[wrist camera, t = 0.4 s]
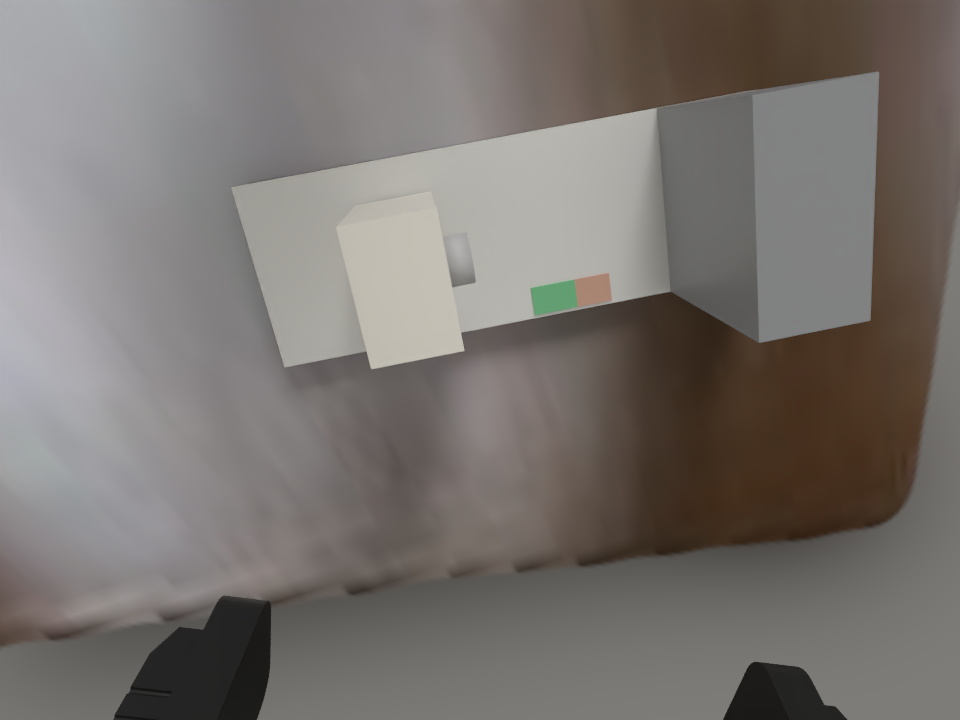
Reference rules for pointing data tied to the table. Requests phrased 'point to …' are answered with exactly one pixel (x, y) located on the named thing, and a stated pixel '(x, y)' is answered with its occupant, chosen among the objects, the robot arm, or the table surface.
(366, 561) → the table surface
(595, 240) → the base
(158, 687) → the robot arm
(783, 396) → the table surface
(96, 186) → the table surface
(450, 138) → the table surface
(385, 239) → the block
